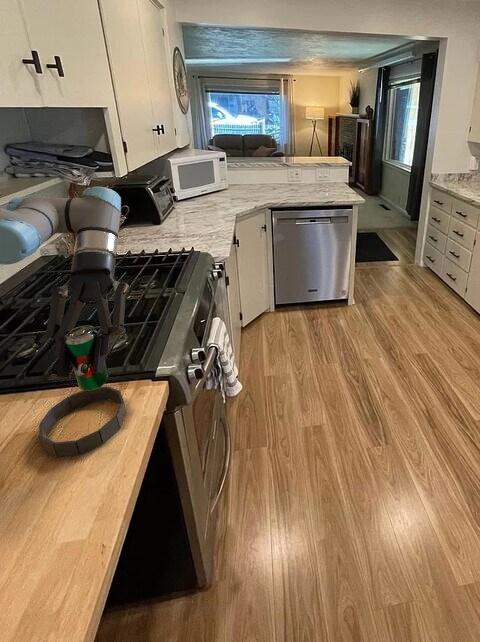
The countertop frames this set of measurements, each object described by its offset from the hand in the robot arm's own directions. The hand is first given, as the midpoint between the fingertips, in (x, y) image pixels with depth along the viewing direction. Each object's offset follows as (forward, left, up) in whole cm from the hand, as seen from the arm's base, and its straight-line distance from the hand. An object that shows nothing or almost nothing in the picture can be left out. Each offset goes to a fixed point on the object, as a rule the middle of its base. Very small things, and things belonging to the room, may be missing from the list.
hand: (80, 374), depth 65 cm
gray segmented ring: (-7, +2, -17) cm, 19 cm away
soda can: (-2, +3, -5) cm, 7 cm away
